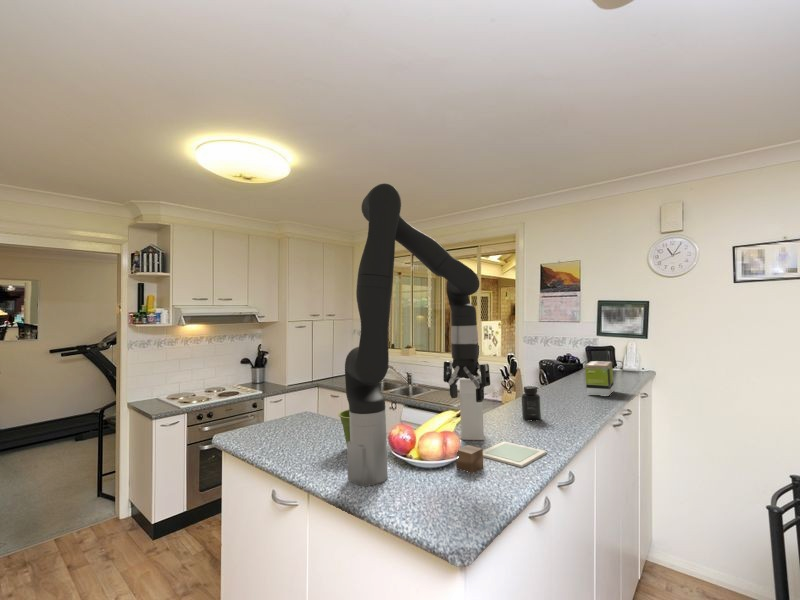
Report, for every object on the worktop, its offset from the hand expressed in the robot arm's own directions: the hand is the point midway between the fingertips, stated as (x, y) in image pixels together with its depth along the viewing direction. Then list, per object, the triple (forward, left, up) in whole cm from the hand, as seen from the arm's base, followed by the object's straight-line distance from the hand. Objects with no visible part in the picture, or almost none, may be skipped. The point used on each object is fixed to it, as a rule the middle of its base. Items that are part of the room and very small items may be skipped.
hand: (466, 399), depth 111 cm
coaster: (+12, -6, -17) cm, 21 cm away
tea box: (+112, +5, -17) cm, 113 cm away
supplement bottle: (+50, +8, -17) cm, 53 cm away
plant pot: (-14, +32, -17) cm, 39 cm away
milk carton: (+18, +12, -17) cm, 27 cm away
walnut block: (-4, -3, -17) cm, 18 cm away
